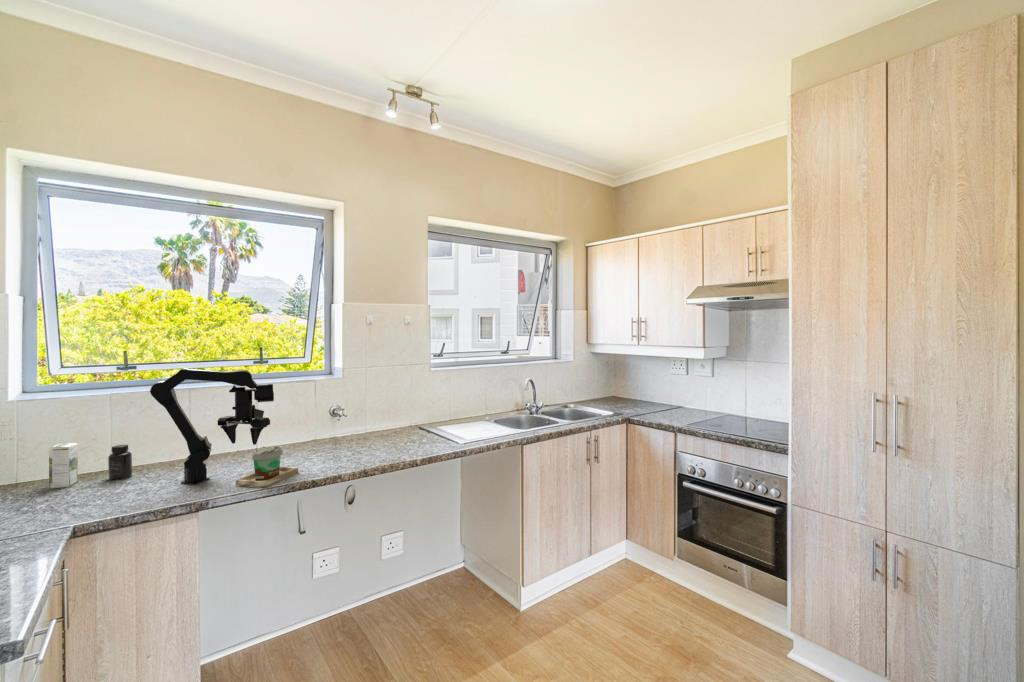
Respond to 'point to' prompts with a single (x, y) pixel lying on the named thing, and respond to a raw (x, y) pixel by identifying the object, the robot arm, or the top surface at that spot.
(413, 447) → the top surface
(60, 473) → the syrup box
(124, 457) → the supplement bottle
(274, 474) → the food container
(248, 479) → the wooden tray
